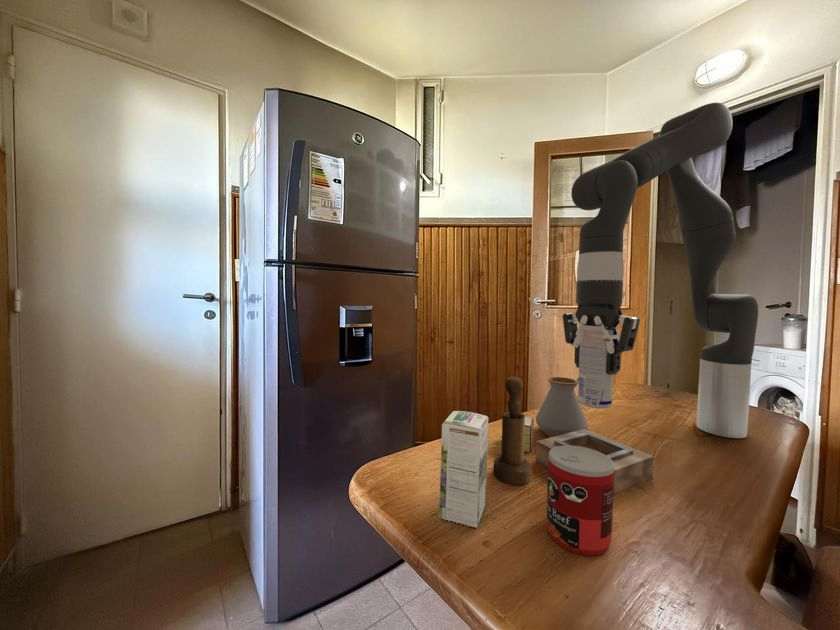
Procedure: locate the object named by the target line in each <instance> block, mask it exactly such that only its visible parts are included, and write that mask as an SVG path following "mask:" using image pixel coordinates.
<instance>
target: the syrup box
mask: <svg viewBox="0 0 840 630" xmlns="http://www.w3.org/2000/svg"><path fill="white" fill-rule="evenodd" d="M488 435H489V417H488V416H487V415H484V414H480V413H476V412H472V411H465V410H464V411H462V410H453V411H452V412H451V413H450V415H449V416H448V417H447V418H446V419H445V420H444V421H443V423H442V424H441V443H440V444H441V446H440V447H441V450H440V451H441V452H440V453H441V455H440V478H439V479H440V483H439V485H440V486H439V513H438V518H439V519H440V518H441V519H440V520H442V519H444V520H443V521H446V520H448V521H447V522H450V521H453V522H452V523H454V522H456V523H455V524H458V523H461V524H460V525H462V524H465V525H464V526H466V525H467V526H466V527H470V526H471V527H472V528H474V527H475V529H478V527H479V525H480V522H481V519H482V516H483V513H484V510H485V507H486V498H487V497H486V494H487V467H488V465H487V464H488V442H489V441H488Z"/></svg>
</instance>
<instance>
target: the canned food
mask: <svg viewBox="0 0 840 630" xmlns="http://www.w3.org/2000/svg"><path fill="white" fill-rule="evenodd" d="M546 491H547V493H546V494H547V496H546V522H545V523H546V528H547V532H548V534H549V536H550V538H551V539H552V540H553V541H554V542H555V543H556V544H558V545H559V546H560V547H562V548H564V549H565V550H566V551H569V552H571V553H574V554H577V555H583V556H587V557H588V556H591V557H592V556H599V555H602V554H605V553H606V552H607V551H608V550H609V548H610V545H611V542H612V531H613V513H614V512H613V510H614V495H615V494H614V463H613V461H612V460H611V459H610V458H609V457H608V456H606V455H604V454H602V453H600V452H598V451H596V450H593V449H589V448H585V447H580V446H571V445H564V446H557V447H554V448H552V449H551V450H550V452H549V456H548V468H547V489H546Z"/></svg>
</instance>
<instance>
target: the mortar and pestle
mask: <svg viewBox="0 0 840 630" xmlns="http://www.w3.org/2000/svg"><path fill="white" fill-rule="evenodd" d="M504 386H505V388H506V390H507V393H508V394H509V400H507V407H508V411H505V412H503V413H502V417H501V418H502V421H501V425H502V426H501V453H500V454H499V455H498V456H496V457H495V458H494V459H493V469H492V471H493V472H492V473H493V475H494V477H495V478H497V480H499V481H501V482H503V483H506V484H510V485H518V486H519V485H525V484H528V483H529V482H531V480H532V465H531V463H530V462H529V461H528V460H527V459H526V458H525V452H524V427H525V417H526V416H525V414H523V413H521V412H520V409H521V404H522V403H521V401H520V400H519V395H520V393H521V392H522V391H523V388H524V383H523V380H522V379H521V378H520V377H518V376H513V375H512V376H509V377H508V378H507V379H506V380H505V385H504Z"/></svg>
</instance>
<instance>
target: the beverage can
mask: <svg viewBox="0 0 840 630" xmlns="http://www.w3.org/2000/svg"><path fill="white" fill-rule="evenodd" d="M581 326H582V327H581V330H580V357H579V368H578V378H579V383H578V384H577V386H578V389H577V392H578V394H577V399H578V401H579V404H580V405H583V406H585V407H587V408H592V409H603V410H604V409H607V408H610V407H612V405H613V387H614V386H613V385H614V384H613V382H614V375H610V374H607V373H606V363H607V353H609V352H608V350H607V347H606V341H604V340H603V335H604V333H603V330H602V328H603V327H601V326H588V325H581ZM606 328H607V327H606ZM607 331H608V334H609V335H615V331H614V330H607ZM613 343H614V340H613Z"/></svg>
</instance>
